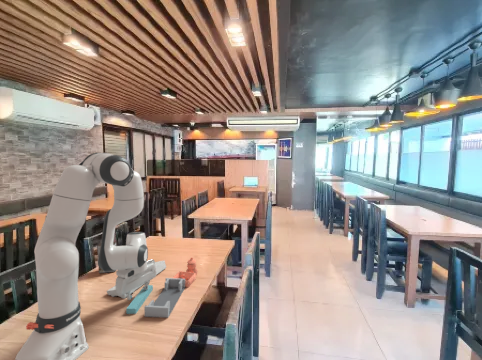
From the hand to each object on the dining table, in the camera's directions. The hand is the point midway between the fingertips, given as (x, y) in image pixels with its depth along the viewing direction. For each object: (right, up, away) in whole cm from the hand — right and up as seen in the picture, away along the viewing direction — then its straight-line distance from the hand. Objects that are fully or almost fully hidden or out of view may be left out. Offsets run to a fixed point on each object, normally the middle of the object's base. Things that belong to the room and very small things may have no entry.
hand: (138, 294), depth 116 cm
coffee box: (-30, 0, +31) cm, 43 cm away
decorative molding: (-11, -1, +20) cm, 23 cm away
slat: (+2, -5, -1) cm, 6 cm away
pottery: (+19, -2, +21) cm, 28 cm away
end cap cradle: (+14, -3, -1) cm, 14 cm away
